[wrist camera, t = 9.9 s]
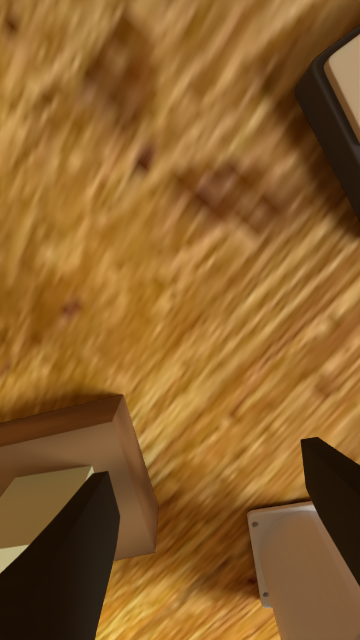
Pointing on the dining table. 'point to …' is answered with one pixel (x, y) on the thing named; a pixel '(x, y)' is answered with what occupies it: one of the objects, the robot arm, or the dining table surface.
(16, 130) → the dining table surface
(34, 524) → the sage cube
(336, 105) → the red cream box
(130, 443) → the walnut riser
